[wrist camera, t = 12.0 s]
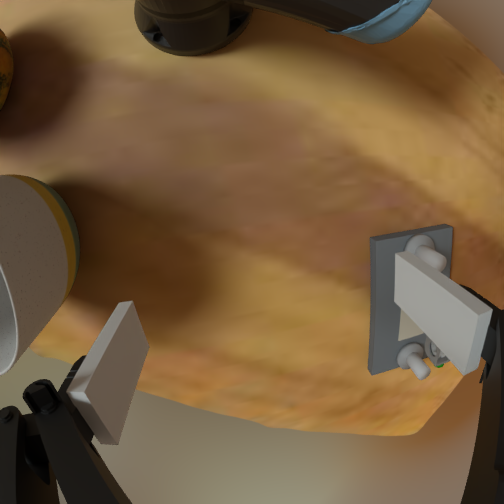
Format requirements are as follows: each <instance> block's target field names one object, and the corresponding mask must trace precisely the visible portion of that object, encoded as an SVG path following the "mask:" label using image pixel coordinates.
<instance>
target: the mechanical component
mask: <svg viewBox="0 0 504 504" xmlns="http://www.w3.org/2000/svg"><path fill="white" fill-rule="evenodd" d="M425 352H426V354H427V356H428V357H429V358H430V360H431V362H432V363H433V364H434V366H435V367H438V368H440V367H443V365H444V363H446V362H449V361H450V360H449V359H448V358H447V356H446V355H445V354H444V353H443V352H442V351H441V350H440V349H439V348H438V347H437V346H436V345H435V343H434V342H433V341H432V340H431V339H430V338H429V337H428V336H426V342H425Z"/></svg>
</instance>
